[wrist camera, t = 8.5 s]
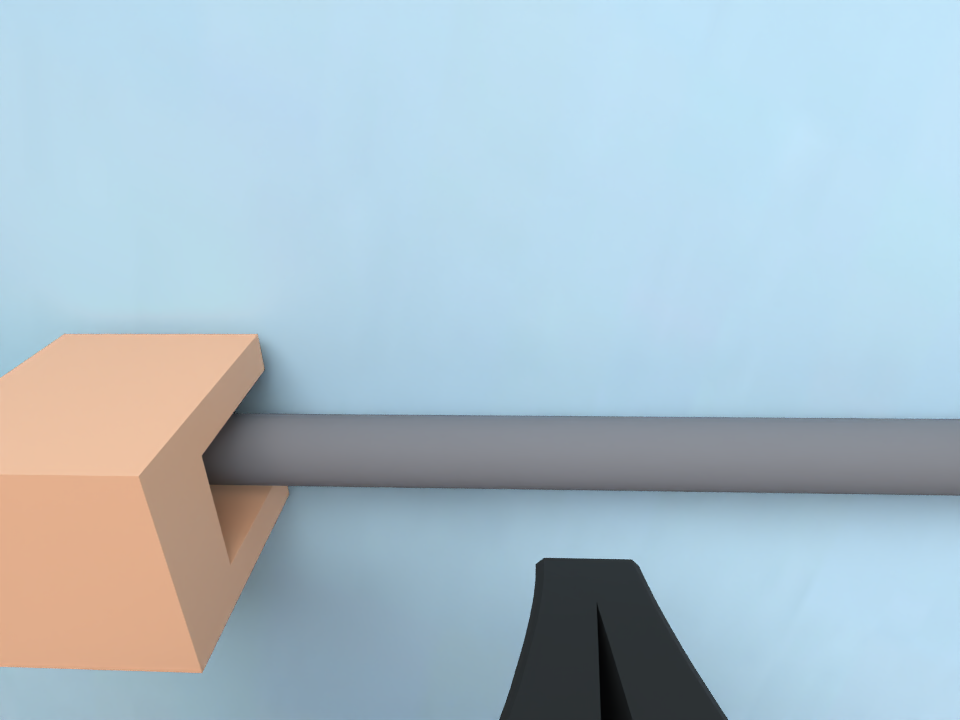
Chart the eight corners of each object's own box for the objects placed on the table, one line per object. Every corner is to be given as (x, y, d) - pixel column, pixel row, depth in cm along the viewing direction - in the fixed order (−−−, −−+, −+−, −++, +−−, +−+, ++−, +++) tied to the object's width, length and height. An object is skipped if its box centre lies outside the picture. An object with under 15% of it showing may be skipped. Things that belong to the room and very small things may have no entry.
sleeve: (258, 334, 13) (138, 476, 9) (289, 494, 15) (202, 673, 11) (64, 333, 13) (-138, 471, 9) (118, 491, 15) (-30, 665, 11)
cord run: (1623, 245, 11) (2127, 348, 8) (1378, 552, 15) (1657, 725, 11) (-317, 259, 13) (-616, 344, 10) (-156, 524, 17) (-340, 661, 13)
